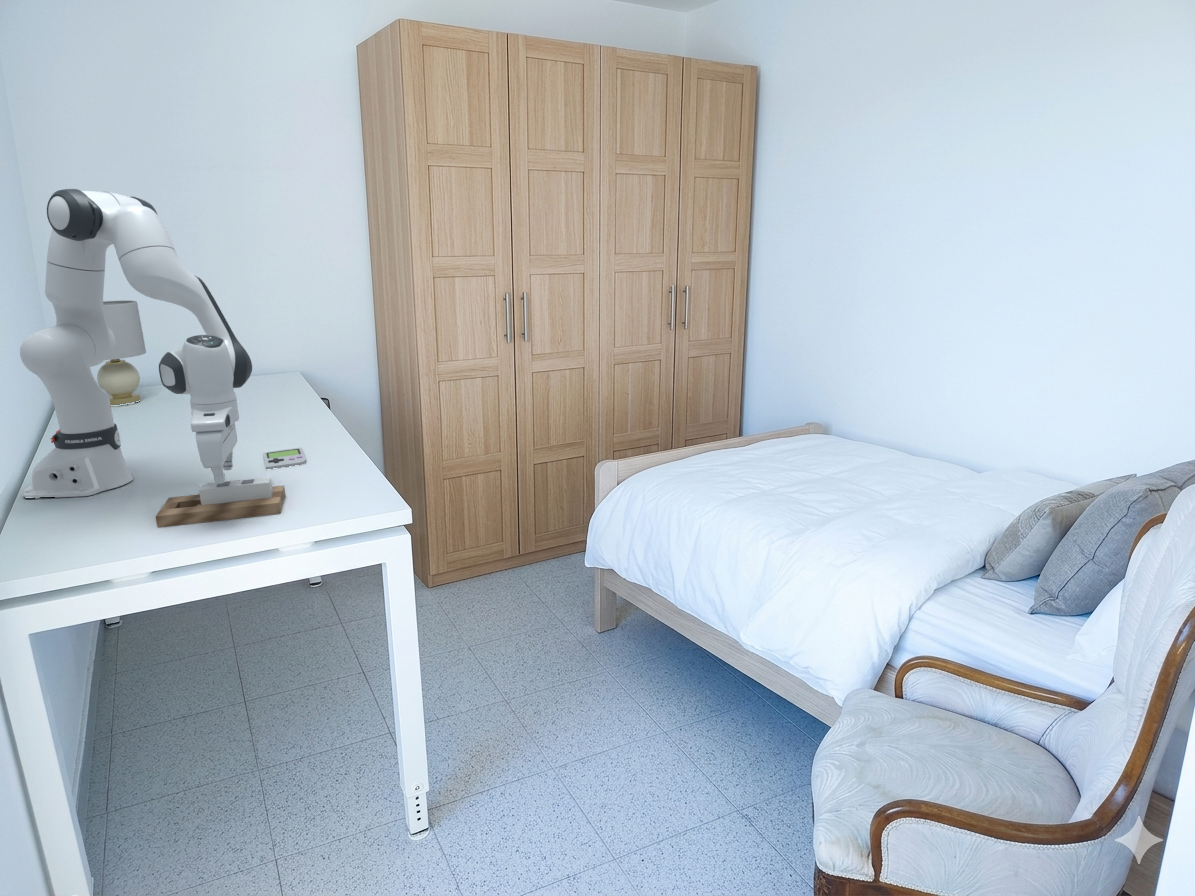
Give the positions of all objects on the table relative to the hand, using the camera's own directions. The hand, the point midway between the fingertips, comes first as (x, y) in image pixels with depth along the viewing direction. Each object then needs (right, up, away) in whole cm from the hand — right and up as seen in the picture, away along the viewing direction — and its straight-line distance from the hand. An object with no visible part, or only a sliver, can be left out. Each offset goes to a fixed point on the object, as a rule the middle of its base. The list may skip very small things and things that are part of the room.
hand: (224, 475), depth 170 cm
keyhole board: (-1, -8, +2) cm, 8 cm away
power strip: (+2, -5, +2) cm, 6 cm away
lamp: (-89, +22, +112) cm, 144 cm away
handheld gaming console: (-2, +2, +39) cm, 39 cm away
